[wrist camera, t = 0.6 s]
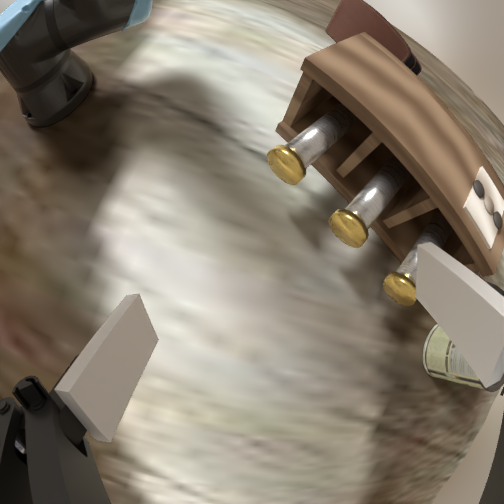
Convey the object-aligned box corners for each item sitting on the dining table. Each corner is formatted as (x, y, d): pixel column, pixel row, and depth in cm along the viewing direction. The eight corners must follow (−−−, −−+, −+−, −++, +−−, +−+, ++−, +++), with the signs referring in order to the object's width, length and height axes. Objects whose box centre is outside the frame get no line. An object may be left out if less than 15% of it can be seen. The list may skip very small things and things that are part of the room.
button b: (349, 250, 33) (369, 243, 28) (323, 221, 33) (339, 210, 29) (400, 187, 36) (420, 175, 31) (378, 162, 36) (395, 147, 31)
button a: (397, 306, 33) (420, 306, 28) (376, 280, 33) (398, 277, 28) (440, 238, 36) (462, 231, 31) (422, 214, 36) (443, 205, 31)
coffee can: (458, 314, 41) (517, 313, 27) (458, 367, 39) (513, 377, 25) (421, 326, 39) (485, 330, 25) (420, 384, 38) (480, 403, 24)
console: (418, 284, 40) (498, 274, 24) (275, 130, 41) (307, 52, 24) (450, 228, 43) (518, 204, 26) (327, 93, 44) (366, 28, 27)
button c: (292, 190, 33) (304, 174, 29) (263, 162, 33) (271, 143, 29) (352, 135, 36) (367, 118, 31) (327, 112, 36) (339, 93, 31)
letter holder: (378, 92, 46) (413, 49, 32) (324, 31, 48) (344, -13, 34) (406, 88, 48) (440, 51, 34) (355, 30, 49) (377, -8, 36)
